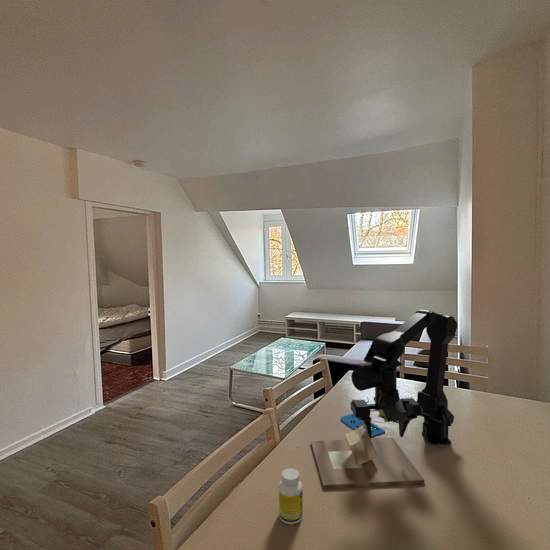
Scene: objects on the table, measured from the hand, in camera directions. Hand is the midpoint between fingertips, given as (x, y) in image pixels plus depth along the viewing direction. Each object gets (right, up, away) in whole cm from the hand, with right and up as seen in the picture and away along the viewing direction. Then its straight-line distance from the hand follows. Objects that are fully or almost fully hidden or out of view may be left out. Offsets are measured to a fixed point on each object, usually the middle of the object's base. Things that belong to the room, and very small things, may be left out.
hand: (385, 437), depth 93 cm
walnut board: (-7, -7, 0) cm, 10 cm away
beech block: (-4, -1, 0) cm, 4 cm away
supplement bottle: (-28, -9, -19) cm, 35 cm away
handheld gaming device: (-2, -7, +20) cm, 21 cm away
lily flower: (+12, -6, +27) cm, 30 cm away
